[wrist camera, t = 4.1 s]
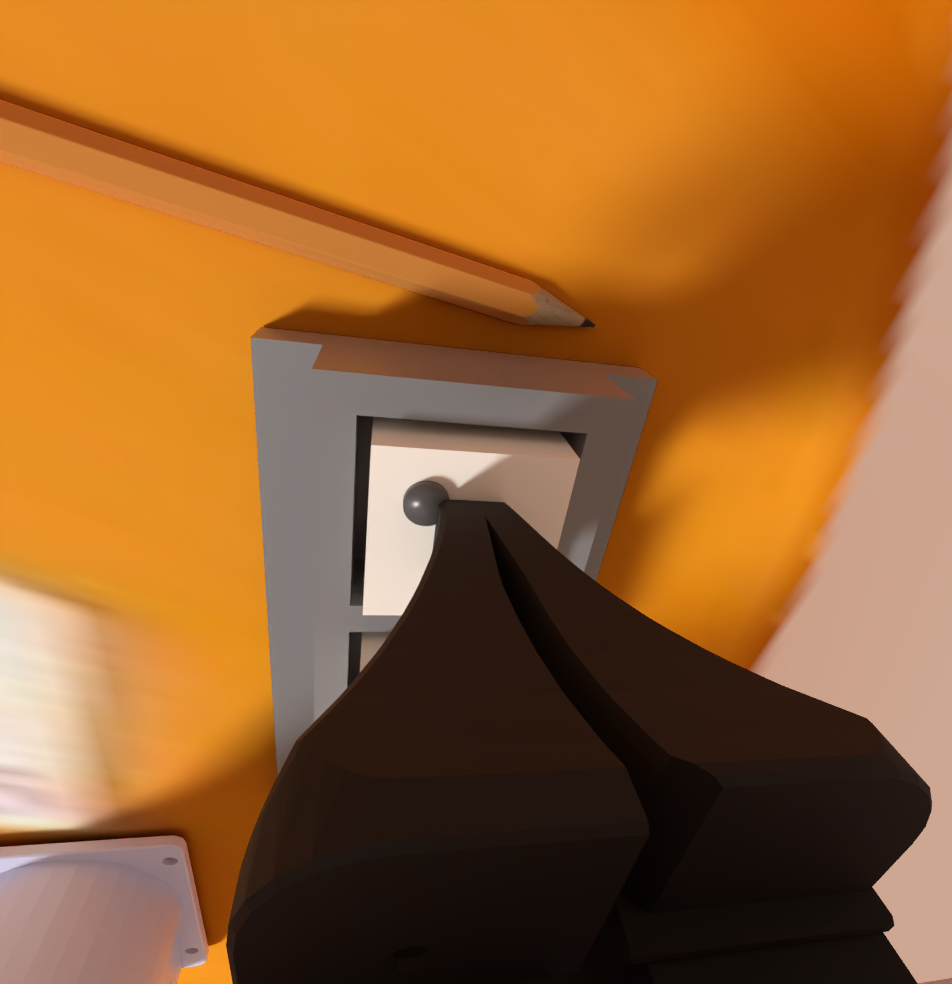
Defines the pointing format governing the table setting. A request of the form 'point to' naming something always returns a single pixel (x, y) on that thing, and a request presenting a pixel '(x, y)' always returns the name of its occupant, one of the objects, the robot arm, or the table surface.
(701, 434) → the table surface
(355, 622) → the tile board
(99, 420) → the table surface
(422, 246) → the pencil
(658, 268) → the table surface
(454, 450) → the tile two
